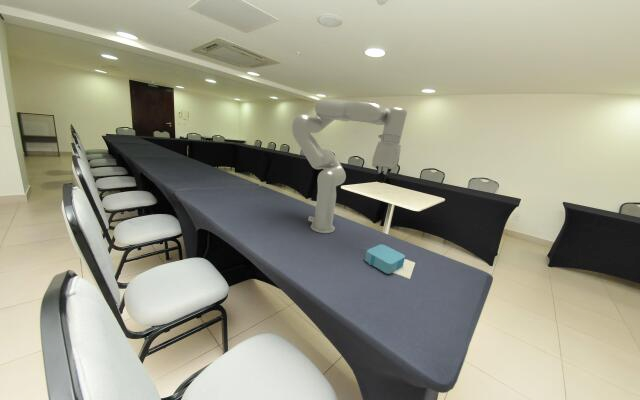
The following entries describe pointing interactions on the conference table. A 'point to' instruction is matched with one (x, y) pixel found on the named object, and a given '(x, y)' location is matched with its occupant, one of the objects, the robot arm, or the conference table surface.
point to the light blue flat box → (384, 258)
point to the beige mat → (405, 269)
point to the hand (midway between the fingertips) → (380, 182)
